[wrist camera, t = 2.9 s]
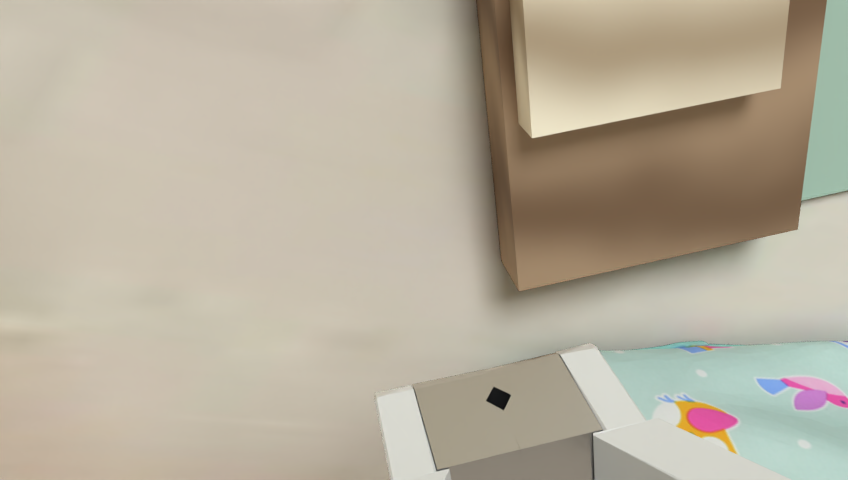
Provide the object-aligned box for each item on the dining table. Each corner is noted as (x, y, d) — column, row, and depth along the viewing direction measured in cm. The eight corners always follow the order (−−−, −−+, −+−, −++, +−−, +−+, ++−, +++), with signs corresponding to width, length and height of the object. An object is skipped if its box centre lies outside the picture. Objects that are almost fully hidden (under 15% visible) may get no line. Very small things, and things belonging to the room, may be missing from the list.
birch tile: (505, -57, 23) (519, -51, 22) (771, -103, 24) (800, -100, 23) (518, 123, 26) (531, 138, 25) (755, 76, 27) (780, 88, 26)
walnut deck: (446, -314, 22) (466, -331, 20) (819, -364, 23) (876, -385, 21) (501, 260, 32) (518, 291, 30) (762, 203, 33) (797, 229, 31)
